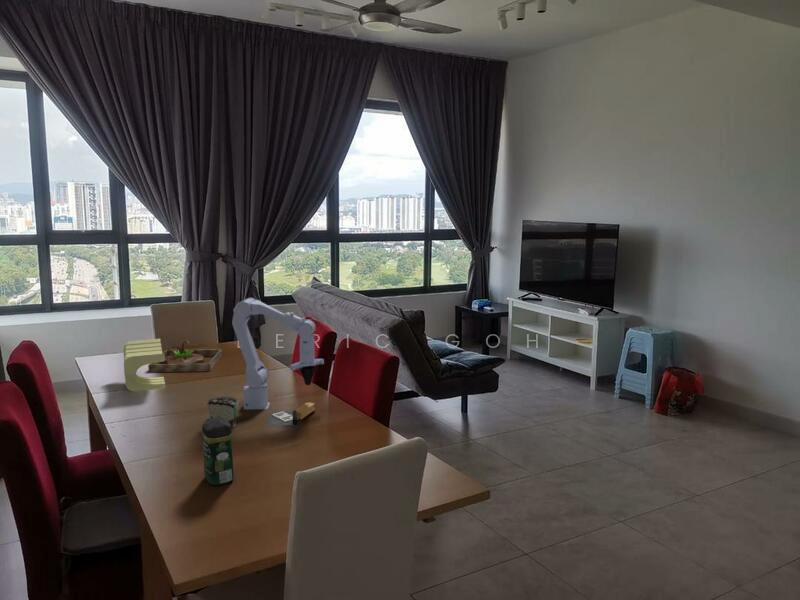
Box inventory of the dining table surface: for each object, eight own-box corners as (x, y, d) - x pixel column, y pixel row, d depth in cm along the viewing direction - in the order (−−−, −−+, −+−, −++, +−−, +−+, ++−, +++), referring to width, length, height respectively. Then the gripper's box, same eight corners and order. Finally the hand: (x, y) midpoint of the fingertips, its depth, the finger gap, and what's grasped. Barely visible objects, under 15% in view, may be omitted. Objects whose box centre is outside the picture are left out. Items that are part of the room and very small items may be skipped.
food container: (246, 424, 230) (245, 398, 228) (236, 430, 224) (235, 403, 222) (218, 420, 234) (217, 394, 232) (208, 425, 228) (206, 399, 226)
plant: (211, 363, 313) (210, 341, 311) (173, 370, 300) (172, 348, 298) (193, 355, 327) (192, 335, 325) (157, 362, 314) (155, 341, 312)
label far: (278, 418, 234) (278, 417, 234) (271, 415, 237) (271, 414, 237) (289, 415, 237) (289, 414, 237) (283, 412, 241) (283, 411, 241)
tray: (266, 427, 227) (266, 413, 226) (271, 413, 241) (271, 400, 240) (299, 426, 228) (299, 413, 227) (302, 412, 242) (302, 399, 242)
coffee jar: (201, 476, 187) (198, 417, 184) (227, 470, 191) (225, 413, 188) (210, 488, 179) (207, 428, 176) (236, 482, 183) (234, 423, 180)
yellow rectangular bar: (301, 419, 231) (301, 413, 231) (293, 418, 232) (293, 411, 232) (315, 409, 242) (315, 403, 242) (307, 408, 243) (307, 402, 243)
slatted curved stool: (125, 379, 284) (123, 341, 281) (162, 375, 291) (160, 338, 288) (126, 398, 257) (123, 357, 254) (166, 393, 264) (164, 353, 261)
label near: (285, 422, 230) (285, 421, 230) (278, 418, 234) (278, 417, 234) (296, 419, 233) (296, 418, 233) (289, 415, 237) (289, 414, 237)
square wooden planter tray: (148, 372, 296) (148, 364, 295) (166, 356, 324) (165, 350, 324) (210, 371, 298) (210, 364, 298) (222, 355, 327) (221, 349, 326)
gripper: (297, 356, 234) (297, 390, 237) (328, 350, 244) (328, 383, 246) (287, 352, 239) (287, 386, 242) (318, 346, 249) (318, 379, 251)
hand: (307, 384), depth 244 cm, fingers closed
